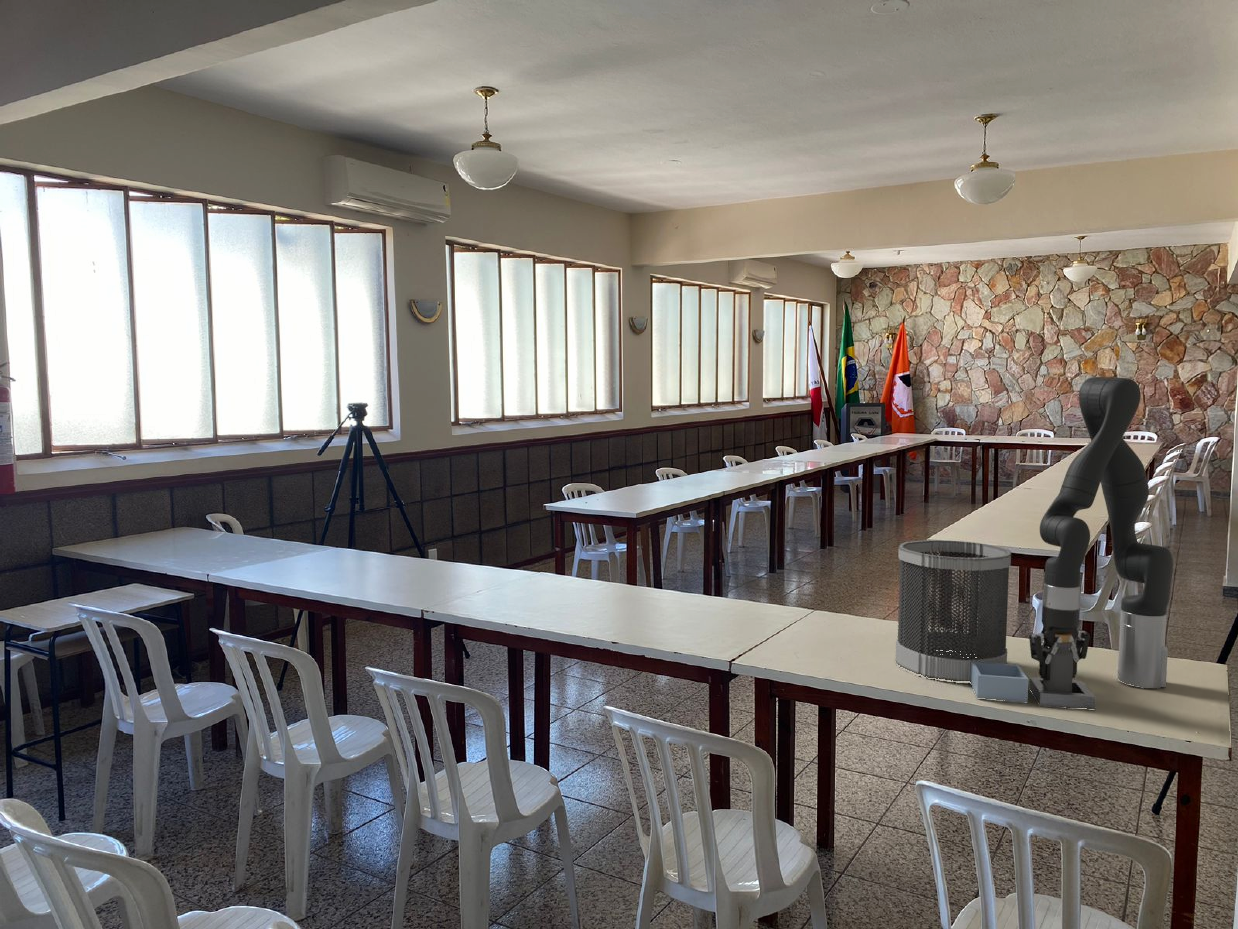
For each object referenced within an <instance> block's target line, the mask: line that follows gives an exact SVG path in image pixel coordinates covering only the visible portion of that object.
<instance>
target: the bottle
mask: <svg viewBox="0 0 1238 929" xmlns="http://www.w3.org/2000/svg"><path fill="white" fill-rule="evenodd" d="M1071 635H1072V634H1055V637H1058V636H1061V638H1062V643H1058V644H1057V647H1058V649H1057V652H1056V654H1055V655H1052V659H1051V661H1050V663H1049V664H1050V679H1049V680H1045V679H1043V686H1044V687H1045V689H1046V690H1047V691H1054V692H1067V693H1072V680H1073V678H1072V677H1073V653H1072V652H1071V651H1070V650H1069V647H1072V643H1070V642H1069V639H1070V637H1071ZM1050 649H1051V648H1049V647H1048V650H1050ZM1046 655H1047V652H1046V654H1045V657H1046Z"/></svg>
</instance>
